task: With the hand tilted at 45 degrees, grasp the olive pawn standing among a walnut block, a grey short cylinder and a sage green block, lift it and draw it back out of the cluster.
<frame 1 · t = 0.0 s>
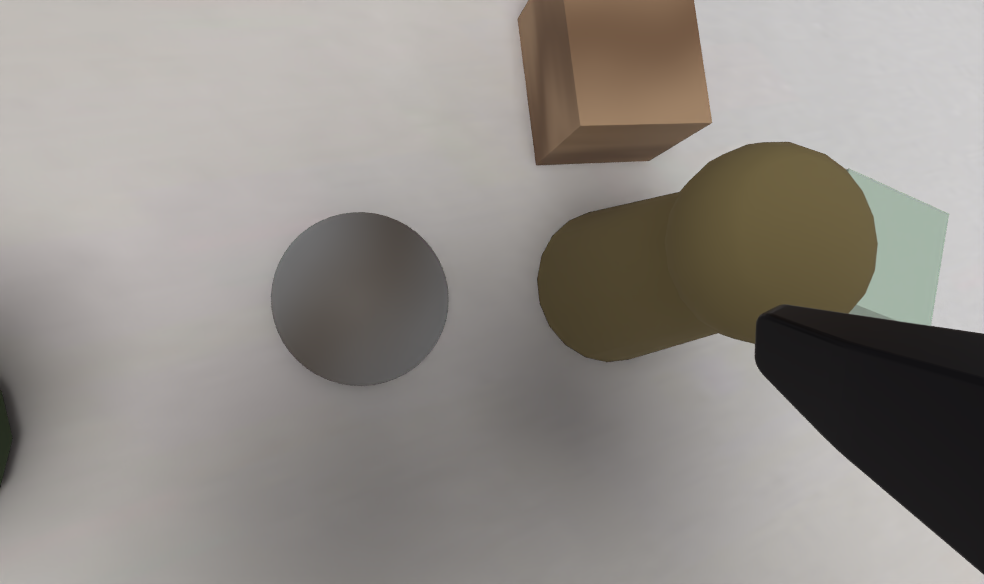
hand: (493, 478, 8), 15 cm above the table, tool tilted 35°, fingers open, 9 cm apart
walnut block: (583, 92, 26), on the table
olive pawn: (606, 286, 26), on the table
sage block: (811, 266, 28), on the table
grey short cylinder: (353, 309, 23), on the table
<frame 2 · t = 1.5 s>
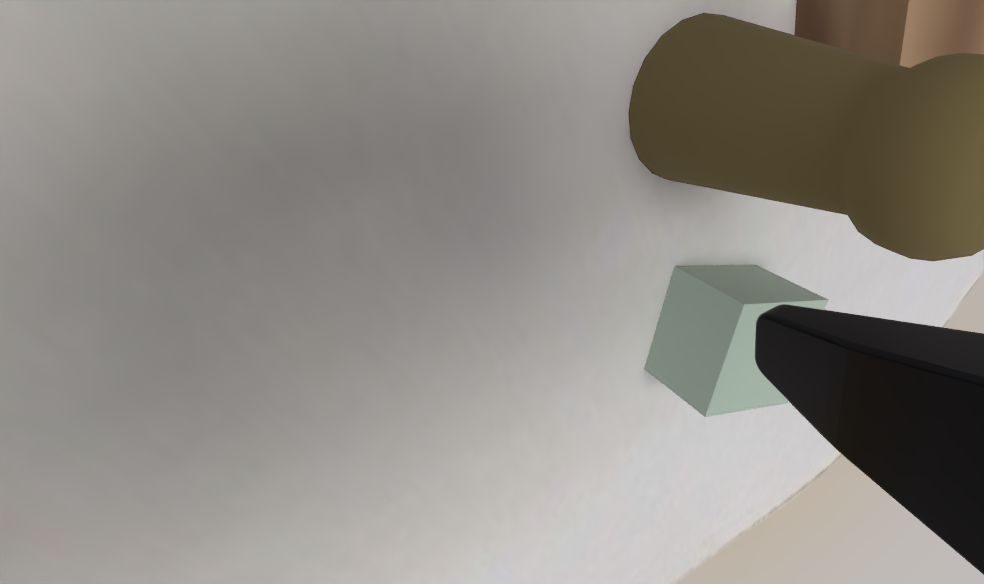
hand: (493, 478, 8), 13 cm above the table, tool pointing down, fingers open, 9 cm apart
walnut block: (844, 42, 26), on the table
olive pawn: (691, 100, 24), on the table
sage block: (698, 315, 29), on the table
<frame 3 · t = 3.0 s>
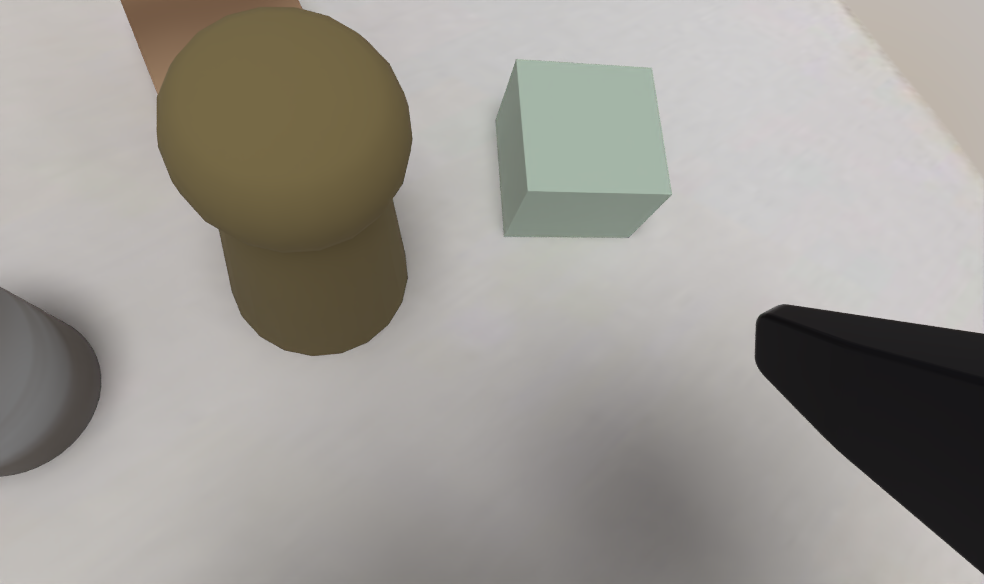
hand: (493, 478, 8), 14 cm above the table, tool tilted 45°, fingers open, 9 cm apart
walnut block: (240, 88, 24), on the table
olive pawn: (321, 273, 23), on the table
sage block: (560, 180, 26), on the table
grey short cylinder: (11, 392, 20), on the table
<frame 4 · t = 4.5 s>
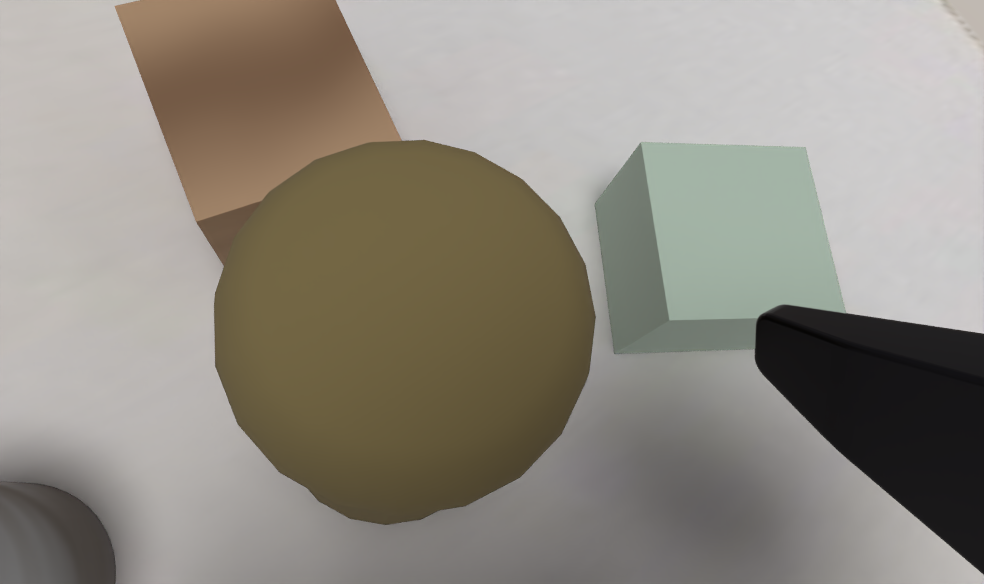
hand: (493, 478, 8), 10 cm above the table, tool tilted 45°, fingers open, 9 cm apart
walnut block: (285, 171, 20), on the table
olive pawn: (392, 410, 18), on the table
sage block: (675, 276, 21), on the table
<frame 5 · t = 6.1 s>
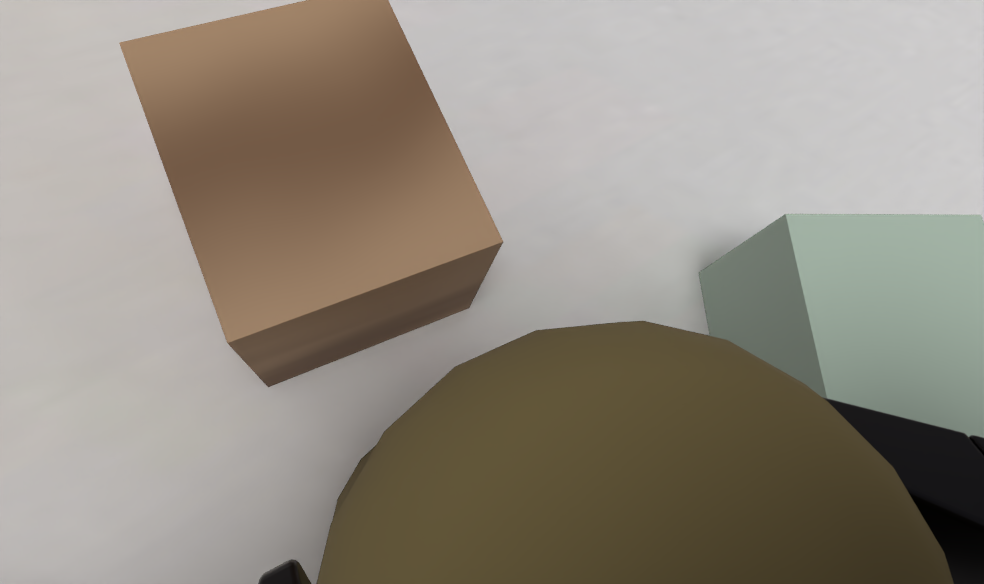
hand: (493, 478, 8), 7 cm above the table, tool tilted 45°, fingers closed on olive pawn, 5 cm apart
walnut block: (327, 237, 16), on the table
olive pawn: (466, 544, 14), on the table, touching gripper
sage block: (797, 361, 17), on the table
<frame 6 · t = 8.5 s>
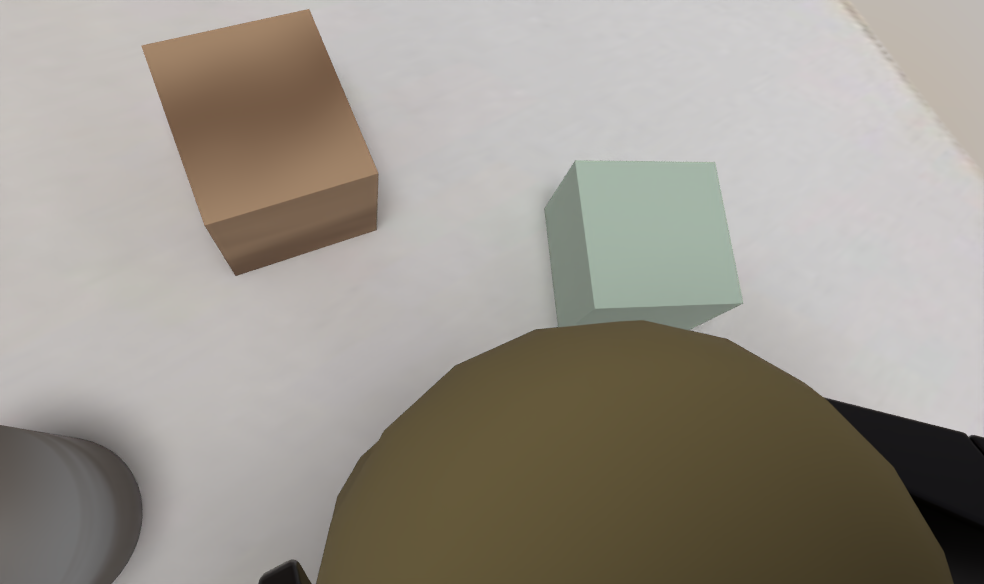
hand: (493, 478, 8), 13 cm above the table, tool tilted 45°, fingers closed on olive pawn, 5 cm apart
walnut block: (280, 179, 23), on the table
olive pawn: (465, 542, 14), point 6 cm above the table, touching gripper
sage block: (613, 270, 24), on the table
grey short cylinder: (48, 525, 19), on the table
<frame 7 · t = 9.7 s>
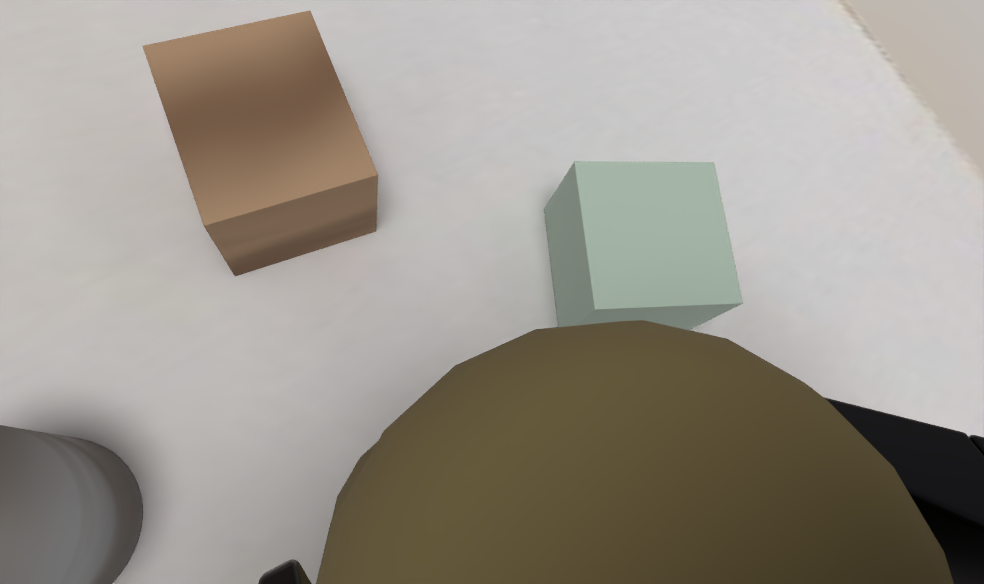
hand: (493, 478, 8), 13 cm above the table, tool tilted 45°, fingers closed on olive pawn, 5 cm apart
walnut block: (280, 180, 23), on the table
olive pawn: (465, 542, 14), point 7 cm above the table, touching gripper
sage block: (613, 271, 24), on the table
grey short cylinder: (49, 525, 19), on the table
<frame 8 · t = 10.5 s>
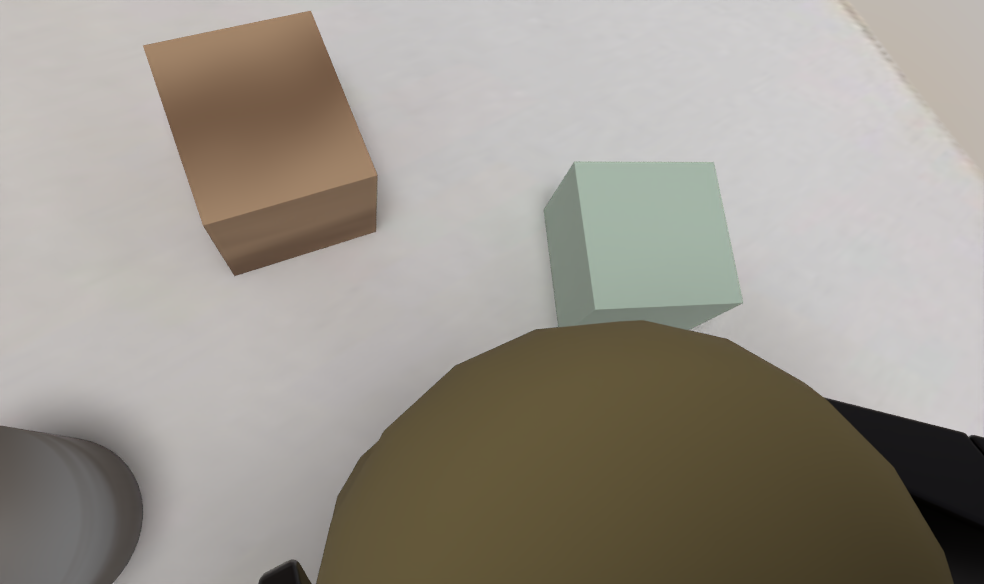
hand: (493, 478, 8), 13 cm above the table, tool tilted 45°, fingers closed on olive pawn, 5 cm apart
walnut block: (280, 180, 23), on the table
olive pawn: (465, 542, 14), point 7 cm above the table, touching gripper
sage block: (613, 271, 24), on the table
grey short cylinder: (49, 525, 19), on the table
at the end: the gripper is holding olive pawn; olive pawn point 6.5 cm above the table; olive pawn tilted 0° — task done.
